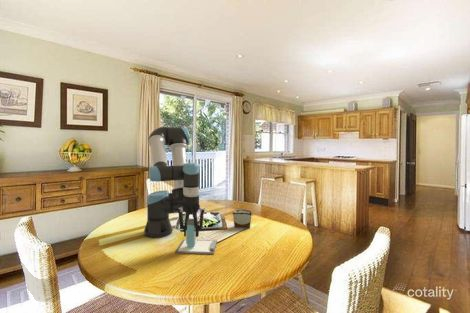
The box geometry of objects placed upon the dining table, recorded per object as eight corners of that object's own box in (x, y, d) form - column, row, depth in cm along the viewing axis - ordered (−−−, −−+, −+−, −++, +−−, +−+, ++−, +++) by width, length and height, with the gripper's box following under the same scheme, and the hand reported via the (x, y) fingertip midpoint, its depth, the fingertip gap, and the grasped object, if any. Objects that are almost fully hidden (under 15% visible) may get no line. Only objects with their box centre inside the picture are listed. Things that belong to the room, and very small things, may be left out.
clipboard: (175, 253, 111) (175, 250, 111) (183, 240, 125) (183, 237, 125) (213, 254, 110) (213, 251, 110) (217, 241, 124) (217, 238, 124)
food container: (252, 225, 149) (252, 209, 149) (252, 228, 143) (252, 212, 143) (233, 224, 150) (233, 208, 150) (231, 227, 144) (232, 211, 144)
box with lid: (187, 247, 114) (186, 220, 113) (188, 244, 118) (188, 218, 117) (194, 247, 114) (193, 221, 113) (195, 244, 118) (195, 218, 117)
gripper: (172, 196, 111) (172, 245, 113) (206, 197, 110) (206, 246, 112) (176, 193, 119) (177, 239, 120) (209, 193, 118) (209, 240, 119)
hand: (191, 242), depth 116 cm, fingers closed on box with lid, 3 cm apart
